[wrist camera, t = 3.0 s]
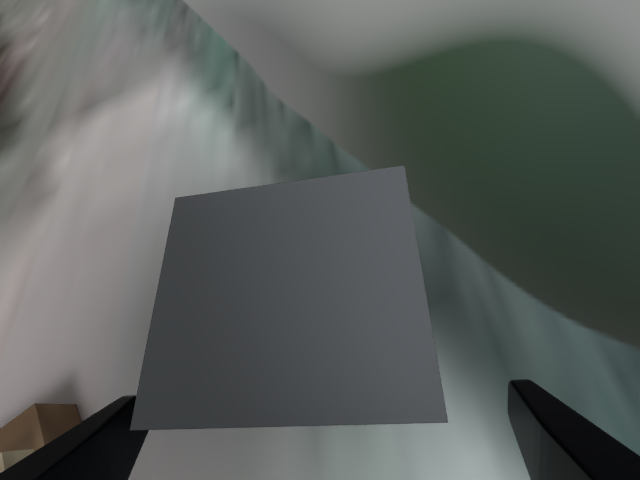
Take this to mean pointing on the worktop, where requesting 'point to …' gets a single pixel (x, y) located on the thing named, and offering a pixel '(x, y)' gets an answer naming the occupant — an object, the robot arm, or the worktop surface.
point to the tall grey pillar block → (292, 310)
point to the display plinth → (34, 430)
